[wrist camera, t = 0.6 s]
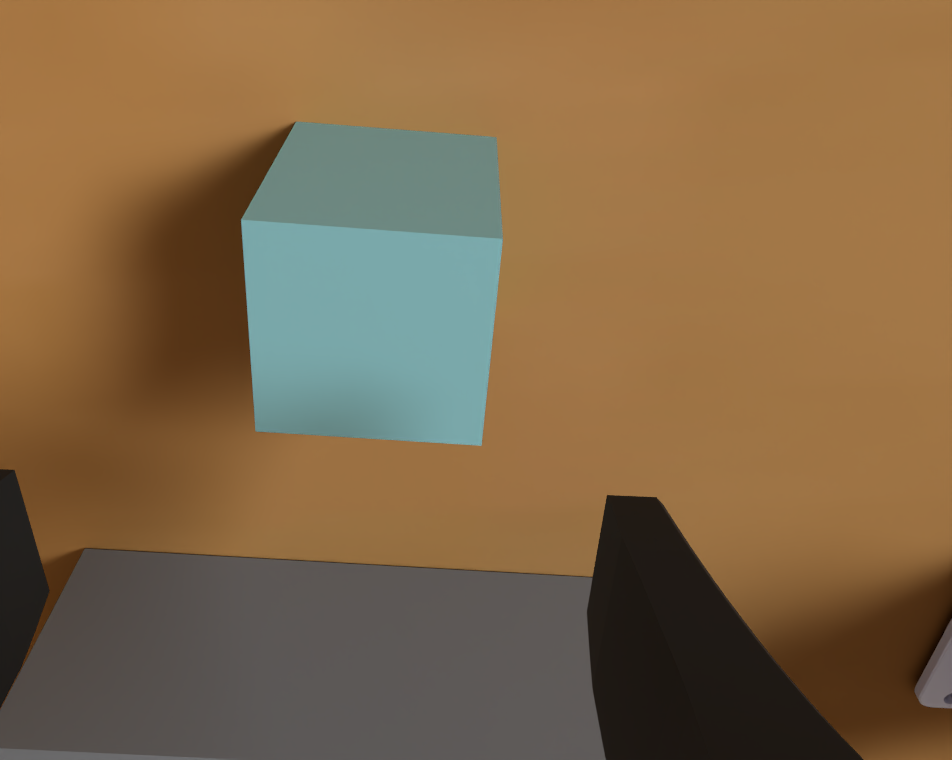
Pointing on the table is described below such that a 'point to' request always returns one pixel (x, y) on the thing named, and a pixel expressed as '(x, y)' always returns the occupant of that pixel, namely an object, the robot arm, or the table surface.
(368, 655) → the gray slotted box
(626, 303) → the table surface
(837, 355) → the table surface
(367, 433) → the teal rectangular block
